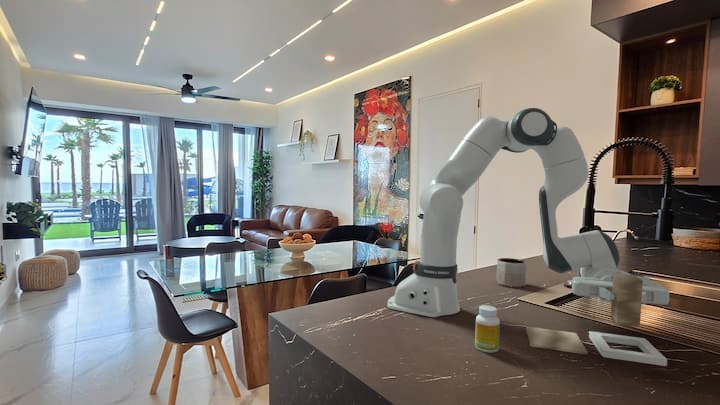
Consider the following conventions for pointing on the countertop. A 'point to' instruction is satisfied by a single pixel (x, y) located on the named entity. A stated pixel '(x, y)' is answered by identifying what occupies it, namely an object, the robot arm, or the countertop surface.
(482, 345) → the supplement bottle
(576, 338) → the oak board
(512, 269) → the planter
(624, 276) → the walnut block
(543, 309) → the countertop surface
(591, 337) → the frame
